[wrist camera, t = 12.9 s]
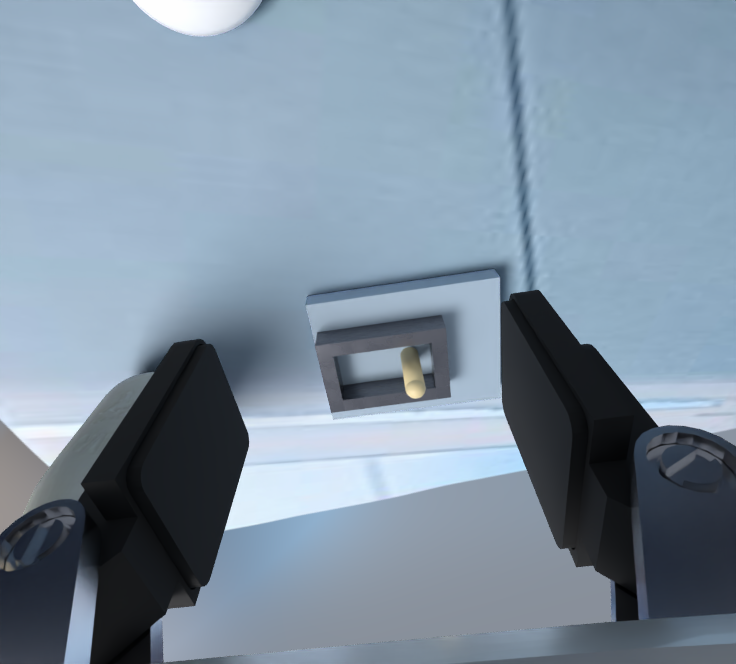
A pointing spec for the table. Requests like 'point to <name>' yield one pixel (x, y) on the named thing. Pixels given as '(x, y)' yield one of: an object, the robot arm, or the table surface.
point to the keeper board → (464, 342)
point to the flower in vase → (199, 14)
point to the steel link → (381, 339)
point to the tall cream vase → (87, 445)
